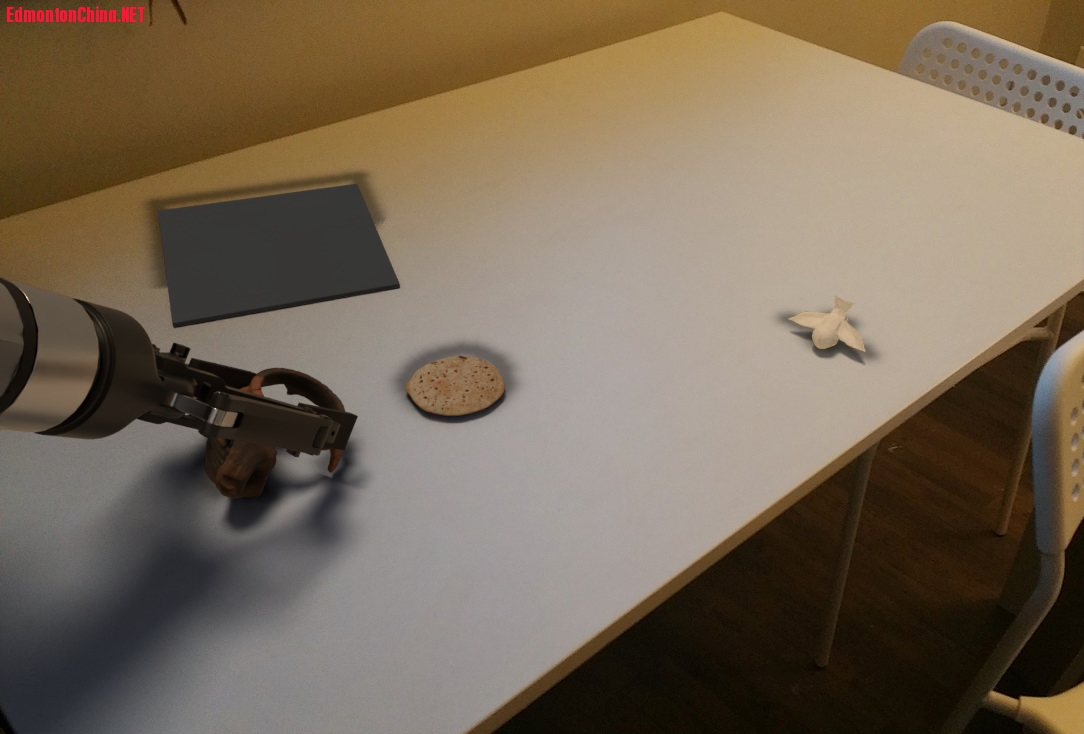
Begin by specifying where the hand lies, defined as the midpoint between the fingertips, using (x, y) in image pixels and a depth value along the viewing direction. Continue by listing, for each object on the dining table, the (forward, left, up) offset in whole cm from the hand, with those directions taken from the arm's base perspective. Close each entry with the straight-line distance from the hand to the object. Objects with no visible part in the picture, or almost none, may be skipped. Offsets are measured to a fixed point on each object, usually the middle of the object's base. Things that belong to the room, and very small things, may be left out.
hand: (295, 409), depth 74 cm
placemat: (-21, +21, -4) cm, 30 cm away
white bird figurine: (+32, +35, -5) cm, 47 cm away
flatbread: (+6, +12, -4) cm, 14 cm away
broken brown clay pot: (0, -3, -4) cm, 5 cm away
